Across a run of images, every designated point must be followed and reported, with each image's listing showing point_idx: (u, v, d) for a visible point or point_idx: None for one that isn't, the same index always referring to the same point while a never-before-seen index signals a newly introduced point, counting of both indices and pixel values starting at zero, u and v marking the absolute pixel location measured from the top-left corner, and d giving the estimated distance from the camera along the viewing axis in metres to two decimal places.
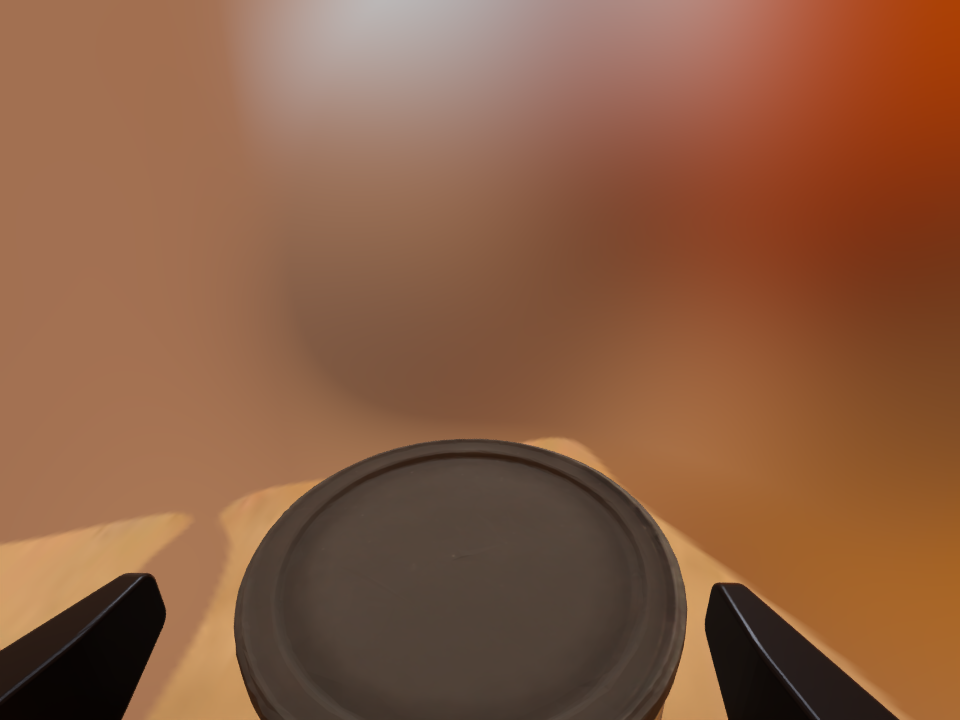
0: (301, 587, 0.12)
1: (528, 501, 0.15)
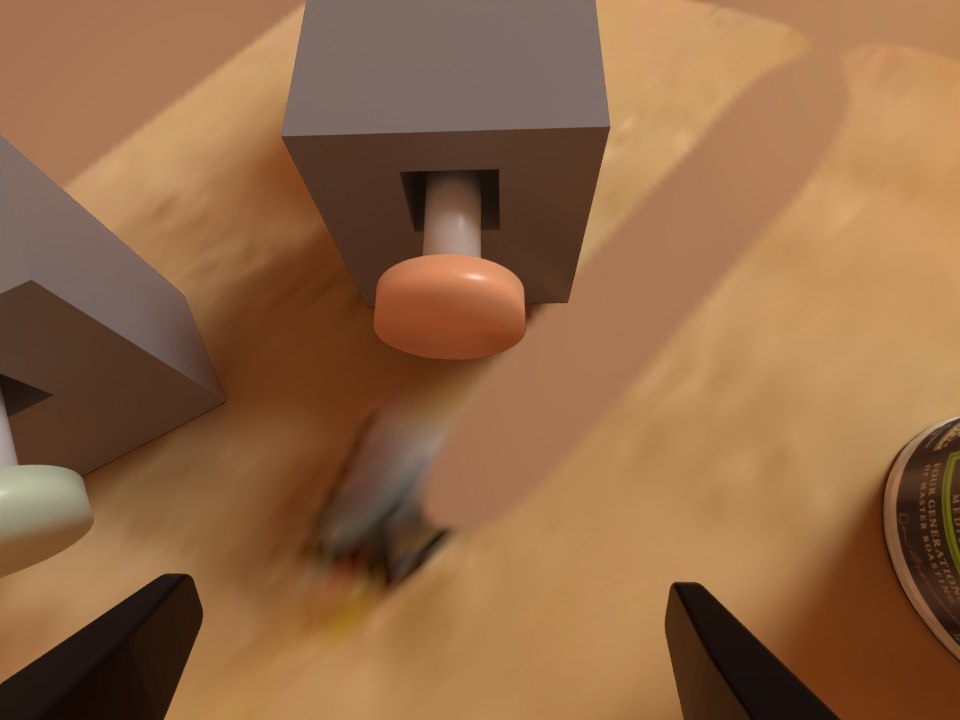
0: None
1: None
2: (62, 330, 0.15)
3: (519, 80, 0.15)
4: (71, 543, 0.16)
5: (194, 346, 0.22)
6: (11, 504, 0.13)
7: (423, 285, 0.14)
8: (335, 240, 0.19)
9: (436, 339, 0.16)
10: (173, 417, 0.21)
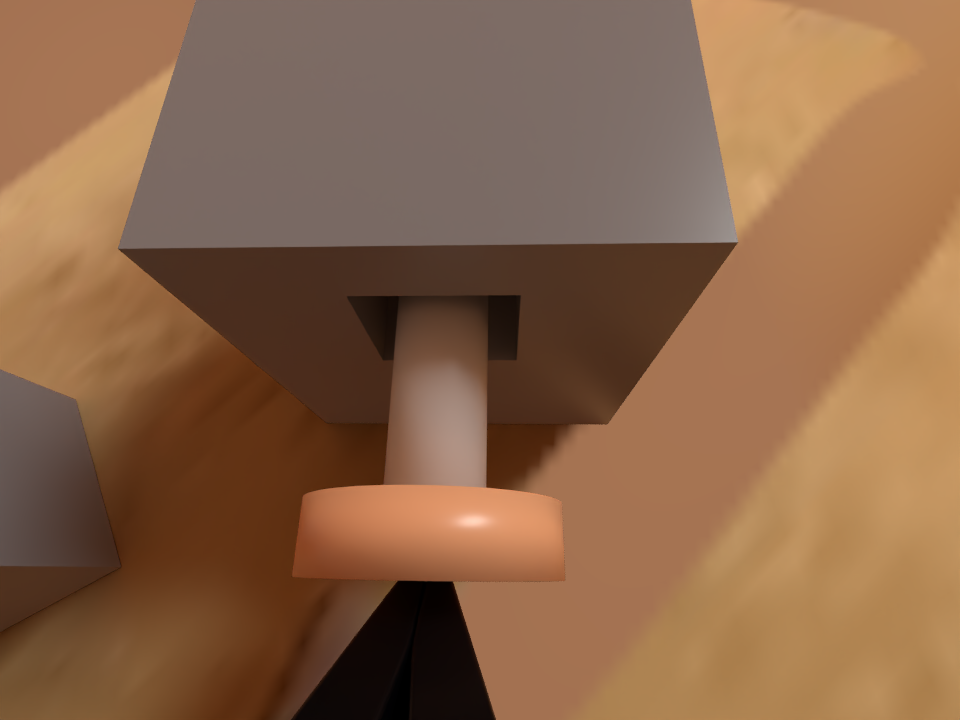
0: None
1: None
2: None
3: (561, 144, 0.08)
4: None
5: (74, 490, 0.15)
6: None
7: (373, 555, 0.07)
8: (262, 366, 0.12)
9: None
10: (36, 601, 0.15)
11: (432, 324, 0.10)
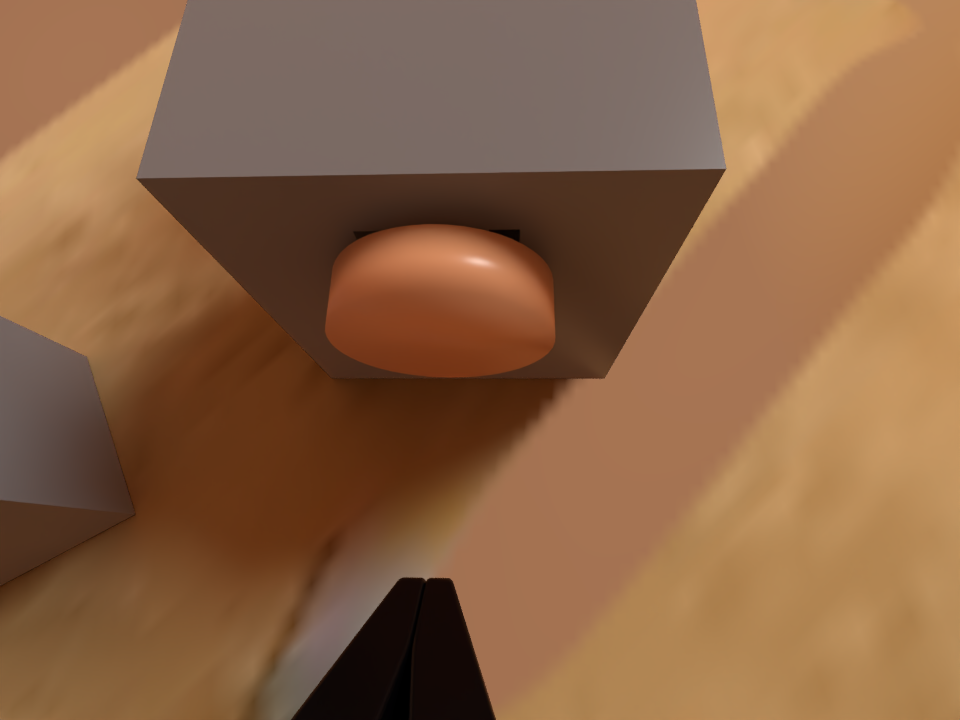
0: None
1: None
2: None
3: (559, 79, 0.09)
4: None
5: (88, 440, 0.16)
6: None
7: (397, 274, 0.08)
8: (270, 313, 0.13)
9: (421, 352, 0.11)
10: (55, 544, 0.15)
11: None
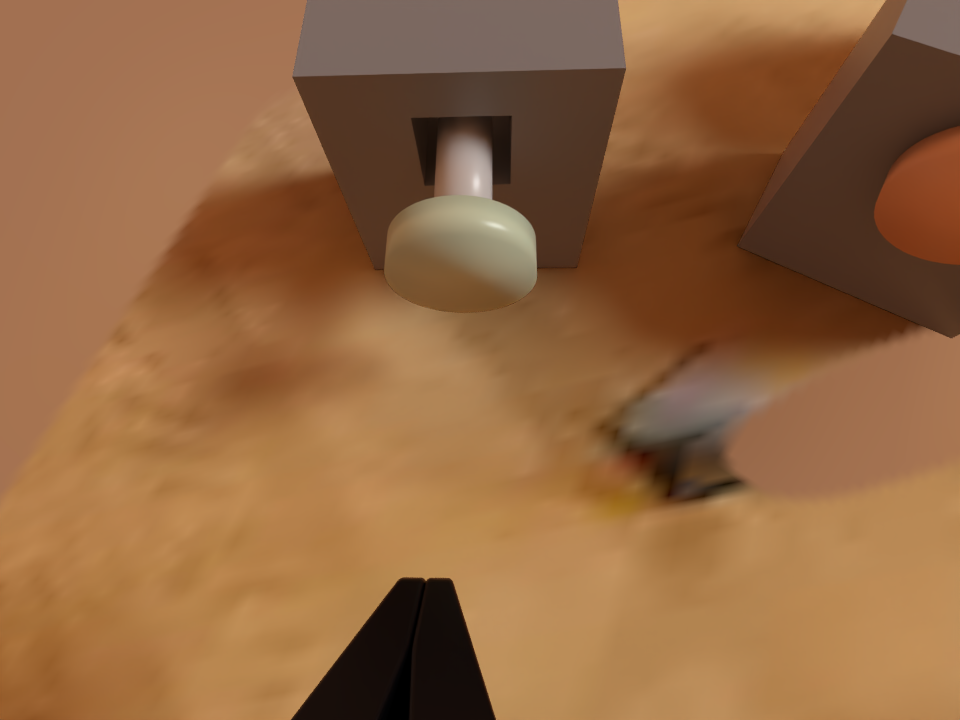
0: None
1: None
2: (583, 128, 0.16)
3: None
4: (482, 310, 0.17)
5: None
6: (522, 246, 0.14)
7: None
8: (797, 165, 0.19)
9: (934, 218, 0.16)
10: (536, 257, 0.23)
11: None
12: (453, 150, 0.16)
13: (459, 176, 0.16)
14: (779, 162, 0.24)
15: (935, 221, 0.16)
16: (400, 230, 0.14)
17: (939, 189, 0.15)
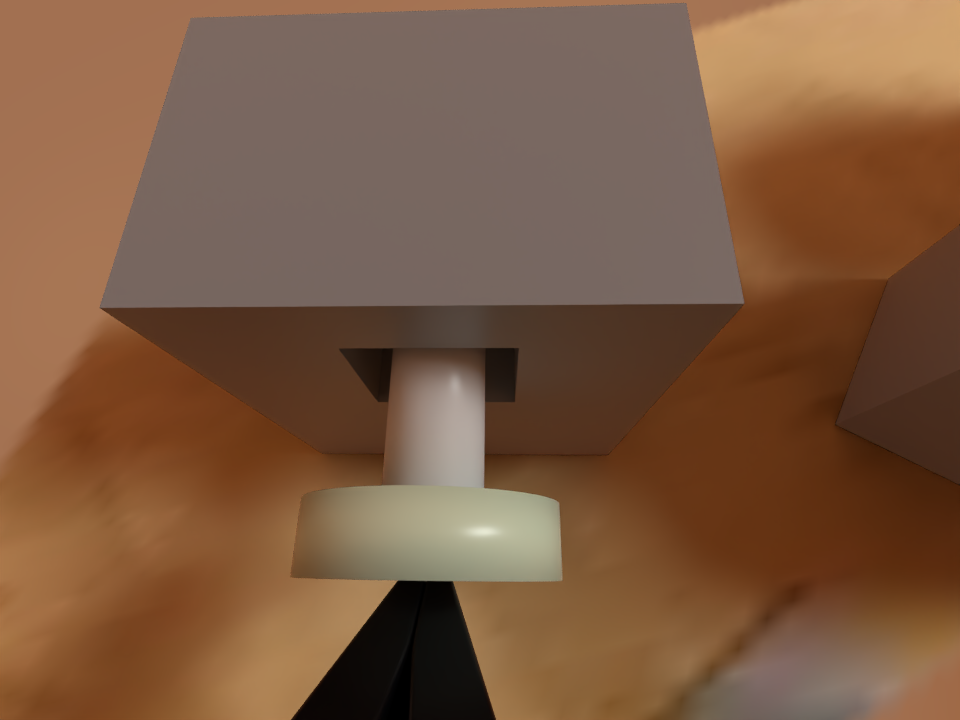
0: None
1: None
2: (645, 360, 0.09)
3: None
4: None
5: None
6: (538, 569, 0.08)
7: None
8: None
9: None
10: (550, 449, 0.16)
11: None
12: None
13: (428, 396, 0.09)
14: (887, 297, 0.18)
15: None
16: (312, 535, 0.08)
17: None
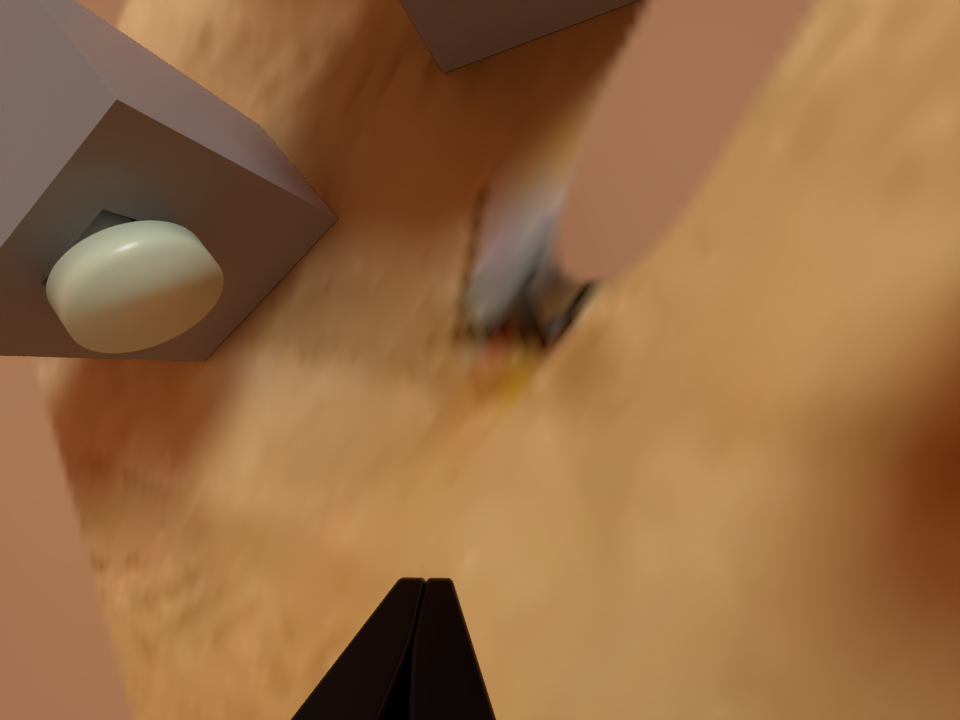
0: None
1: None
2: (167, 158, 0.15)
3: None
4: (215, 300, 0.18)
5: (289, 170, 0.22)
6: (145, 249, 0.14)
7: None
8: None
9: None
10: (297, 244, 0.22)
11: None
12: None
13: None
14: None
15: None
16: (60, 319, 0.15)
17: None
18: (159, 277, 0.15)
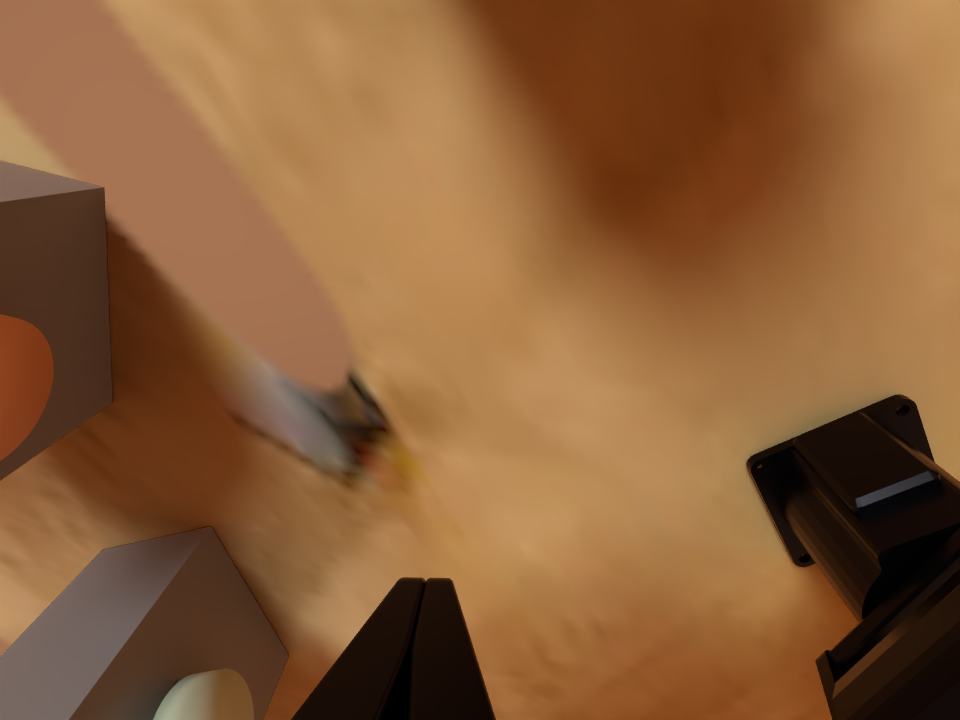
0: None
1: None
2: (104, 705, 0.18)
3: None
4: (236, 674, 0.22)
5: (152, 553, 0.24)
6: None
7: None
8: (10, 471, 0.18)
9: (9, 400, 0.15)
10: (220, 568, 0.25)
11: None
12: None
13: None
14: None
15: (11, 397, 0.15)
16: None
17: None
18: None
